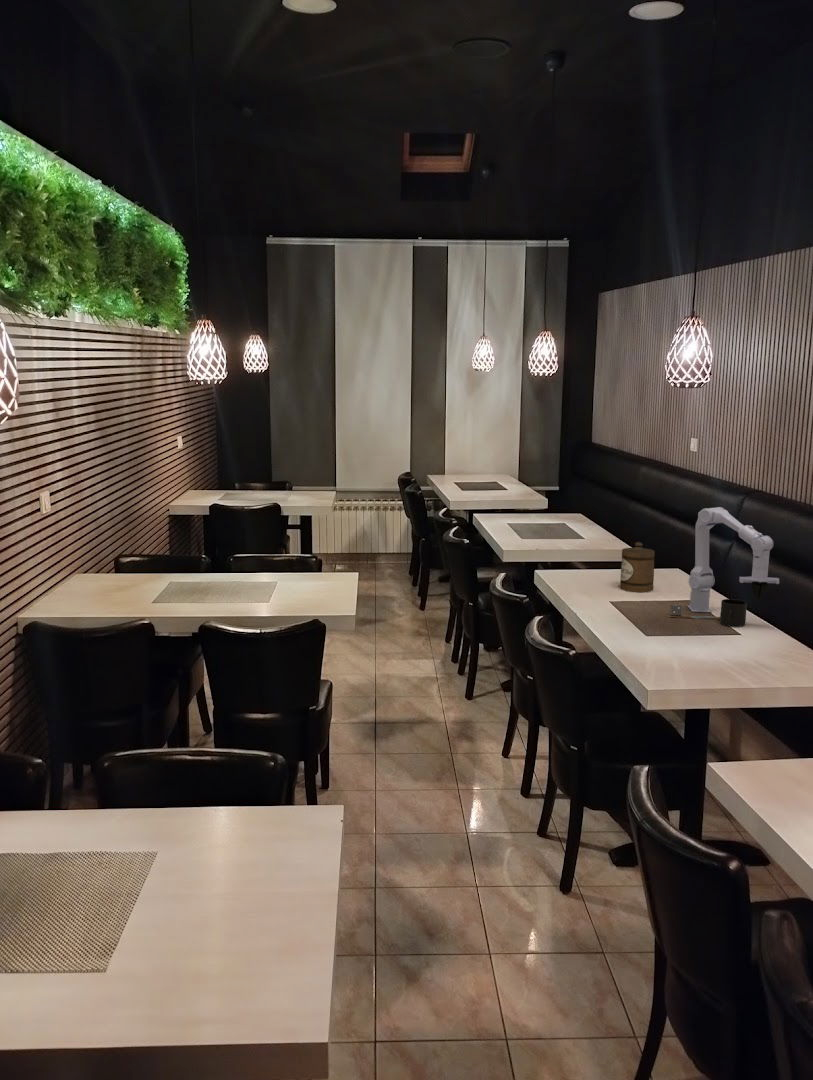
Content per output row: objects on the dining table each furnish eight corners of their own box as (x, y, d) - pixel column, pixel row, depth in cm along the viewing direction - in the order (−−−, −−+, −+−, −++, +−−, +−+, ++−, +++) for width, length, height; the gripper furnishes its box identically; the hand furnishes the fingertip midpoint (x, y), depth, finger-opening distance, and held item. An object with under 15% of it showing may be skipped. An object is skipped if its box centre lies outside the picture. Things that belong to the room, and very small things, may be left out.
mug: (716, 626, 340) (717, 604, 338) (722, 619, 350) (724, 597, 348) (741, 630, 335) (743, 607, 333) (747, 622, 345) (749, 600, 343)
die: (669, 614, 356) (670, 604, 356) (679, 615, 355) (680, 604, 355) (671, 615, 352) (671, 604, 352) (681, 615, 351) (681, 605, 351)
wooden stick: (666, 616, 354) (666, 614, 353) (738, 618, 350) (738, 617, 350) (667, 617, 351) (667, 616, 351) (739, 620, 348) (739, 618, 348)
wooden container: (617, 584, 408) (619, 539, 404) (648, 585, 407) (651, 539, 403) (623, 592, 393) (626, 545, 389) (656, 593, 393) (659, 545, 389)
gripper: (743, 568, 334) (741, 602, 336) (782, 569, 332) (779, 604, 335) (739, 564, 341) (736, 598, 343) (777, 565, 339) (774, 599, 341)
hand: (757, 600), depth 339 cm, fingers closed
